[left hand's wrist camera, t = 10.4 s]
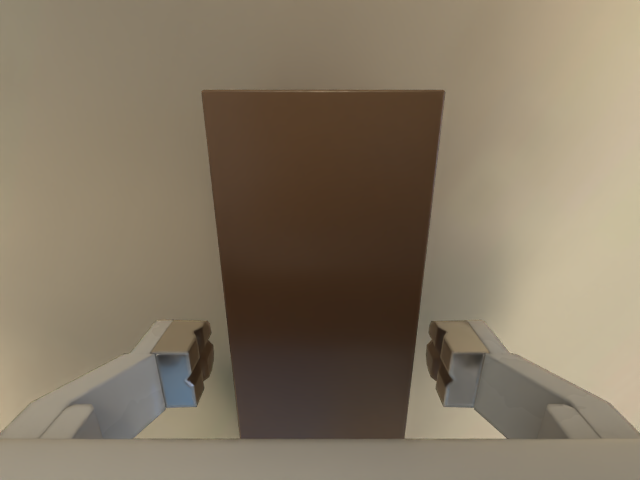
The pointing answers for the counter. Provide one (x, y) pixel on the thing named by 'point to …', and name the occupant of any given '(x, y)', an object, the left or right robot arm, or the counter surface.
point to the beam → (322, 253)
